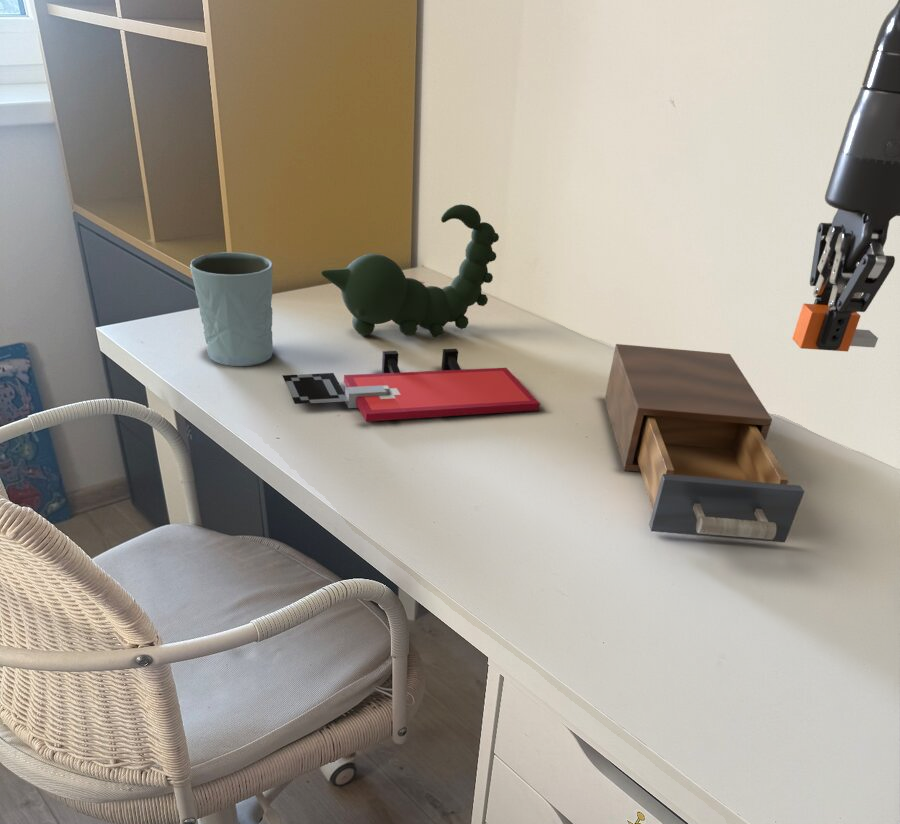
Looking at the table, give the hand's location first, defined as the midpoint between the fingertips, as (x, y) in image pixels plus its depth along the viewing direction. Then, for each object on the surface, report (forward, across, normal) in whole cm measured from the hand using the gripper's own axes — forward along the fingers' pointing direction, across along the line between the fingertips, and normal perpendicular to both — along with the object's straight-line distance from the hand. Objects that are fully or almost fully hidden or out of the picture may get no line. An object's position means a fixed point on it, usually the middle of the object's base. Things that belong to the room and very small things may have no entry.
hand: (821, 341), depth 84 cm
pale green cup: (+16, +26, +66) cm, 72 cm away
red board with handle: (+16, +17, +42) cm, 48 cm away
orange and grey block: (0, 0, -1) cm, 1 cm away
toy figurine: (+16, +40, +44) cm, 62 cm away
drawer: (+15, -7, +10) cm, 19 cm away
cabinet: (+16, +10, +10) cm, 22 cm away
